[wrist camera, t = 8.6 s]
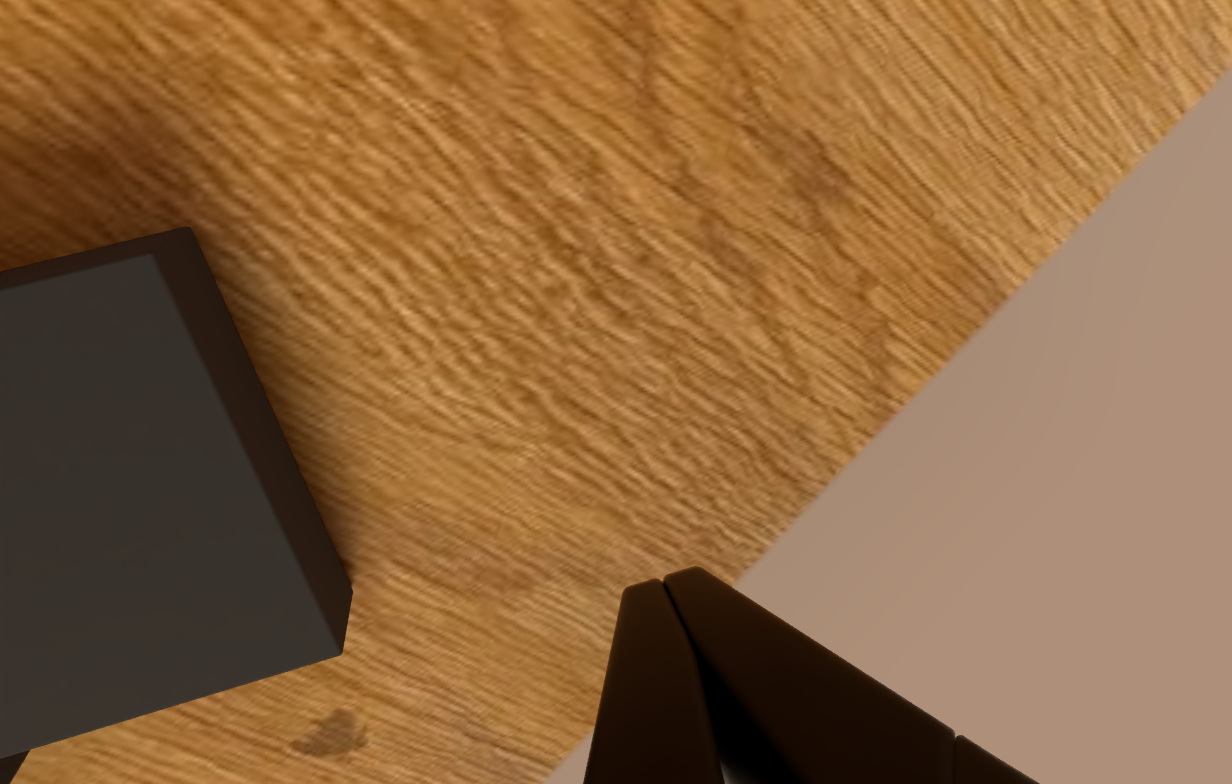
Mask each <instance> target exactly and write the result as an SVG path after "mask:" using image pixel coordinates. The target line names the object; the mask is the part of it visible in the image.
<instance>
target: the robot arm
mask: <svg viewBox="0 0 1232 784" xmlns="http://www.w3.org/2000/svg"><path fill="white" fill-rule="evenodd" d="M725 783H726V784H1039V783H1038V782H1036V781H1034V780H1033V779H1031V778H1029V777H1028V776H1026V775H1025V774H1023V773H1021V772H1020V771H1018V770H1016V769H1015V768H1013V767H1011V766H1010V765H1008V764H1007V763H1005V762H1003V761H1002V760H1000V759H998V758H997V757H995V756H994V755H992V754H990V753H989V752H988V751H986V750H984V749H982V748H981V747H980V746H978V745H977V744H975V743H973V742H972V741H970V740H969V739H967V738H966V737H964V736H962V735H959V736H957V737H956V738H955V733H954V731H953V730H952V729H951V728H950V727H948V726H946V725H945V724H943V723H942V722H940V721H939V720H937V719H936V718H934V717H932V716H931V715H929V714H928V713H926V712H924V711H923V710H922V709H920V708H919V707H917V706H915V705H914V704H912V703H911V702H909V701H908V700H906V699H905V698H903V697H901V696H900V695H898V694H897V693H895V692H894V691H892V690H891V689H889V688H887V687H886V686H884V685H883V684H881V683H879V682H878V681H877V680H875V679H874V678H872V677H870V676H869V675H867V674H866V673H864V672H863V671H861V670H860V669H858V668H856V667H855V666H853V665H852V664H850V663H849V662H847V661H846V660H844V659H842V658H841V657H839V656H838V655H836V654H835V653H833V652H832V651H830V650H828V649H827V648H825V647H824V646H822V645H821V644H819V643H817V642H816V641H814V640H813V639H811V638H810V637H808V636H807V635H805V634H804V633H802V632H800V631H799V630H797V629H796V628H794V627H793V626H791V625H789V624H788V623H786V622H785V621H783V620H782V619H780V618H779V617H777V616H776V615H774V614H772V613H771V612H769V611H768V610H766V609H765V608H763V607H761V606H760V605H758V604H757V603H755V602H754V601H752V600H751V599H749V598H748V597H746V596H744V595H743V594H741V593H740V592H738V591H737V590H735V589H734V588H732V587H731V586H729V585H727V584H726V583H724V582H723V581H721V580H720V579H718V578H717V577H715V576H713V575H712V574H710V573H709V572H707V571H706V570H704V569H703V568H701V567H697V566H694V567H690V568H687V569H683V570H680V571H677V572H674V573H670V574H667V575H666V576H665V577H664V578H663V582H662V581H661V580H659V579H656V578H655V579H651V580H648V581H644V582H641V583H638V584H634V585H631V586H628V587H626V588H625V589H624V591H623V594H622V598H621V603H620V608H619V613H618V617H617V622H616V627H615V632H614V637H613V642H612V646H611V651H610V656H609V661H608V666H607V671H606V675H605V680H604V685H603V690H602V695H601V700H600V704H599V709H598V714H597V719H596V724H595V729H594V733H593V738H592V743H591V749H590V753H589V758H588V762H587V767H586V772H585V777H584V782H583V784H725Z"/></svg>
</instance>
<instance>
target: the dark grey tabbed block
mask: <svg viewBox="0 0 1232 784" xmlns="http://www.w3.org/2000/svg"><path fill="white" fill-rule="evenodd" d="M352 595H353V590H352V588H351V585H350V583H349V581H348V579H347V576H346V574H345V572H344V570H343V567H342V565H341V563H340V561H339V558H338V556H337V554H336V552H335V549H334V547H333V545H332V543H331V540H330V538H329V536H328V534H327V532H326V529H325V527H324V525H323V523H322V520H321V518H320V516H319V514H318V511H317V509H316V507H315V505H314V502H313V500H312V498H311V496H310V493H309V491H308V489H307V487H306V484H305V482H304V480H303V478H302V475H301V473H300V471H299V469H298V466H297V464H296V462H295V460H294V458H293V455H292V453H291V451H290V449H289V446H288V444H287V442H286V440H285V437H284V435H283V433H282V431H281V428H280V426H279V424H278V422H277V419H276V417H275V415H274V413H273V410H272V408H271V406H270V404H269V401H268V399H267V397H266V395H265V393H264V390H263V388H262V386H261V384H260V381H259V379H258V377H257V375H256V372H255V370H254V368H253V366H252V363H251V361H250V359H249V357H248V354H247V352H246V350H245V348H244V345H243V343H242V341H241V339H240V336H239V334H238V332H237V330H236V328H235V325H234V323H233V321H232V319H231V316H230V314H229V312H228V310H227V307H226V305H225V303H224V301H223V298H222V296H221V294H220V292H219V289H218V287H217V285H216V283H215V280H214V278H213V276H212V274H211V271H210V269H209V267H208V265H207V262H206V260H205V258H204V256H203V254H202V251H201V249H200V247H199V245H198V242H197V240H196V238H195V236H194V233H193V231H192V229H191V228H190V227H182V228H178V229H174V230H170V231H166V232H162V233H158V234H154V235H149V236H145V237H141V238H137V239H133V240H129V241H125V242H121V243H117V244H113V245H109V246H105V247H100V248H96V249H92V250H88V251H84V252H80V253H76V254H72V255H68V256H64V257H60V258H56V259H52V260H47V261H43V262H39V263H35V264H31V265H27V266H23V267H19V268H15V269H11V270H7V271H3V272H0V759H1V758H4V757H7V756H11V755H14V754H17V753H21V752H24V751H27V750H30V749H34V748H37V747H40V746H44V745H47V744H50V743H54V742H57V741H60V740H63V739H67V738H70V737H73V736H77V735H80V734H83V733H86V732H90V731H93V730H96V729H100V728H103V727H106V726H109V725H113V724H116V723H119V722H123V721H126V720H129V719H133V718H136V717H139V716H142V715H146V714H149V713H152V712H156V711H159V710H162V709H165V708H169V707H172V706H175V705H179V704H182V703H185V702H188V701H192V700H195V699H198V698H202V697H205V696H208V695H211V694H215V693H218V692H221V691H225V690H228V689H231V688H235V687H238V686H241V685H244V684H248V683H251V682H254V681H258V680H261V679H264V678H267V677H271V676H274V675H277V674H281V673H284V672H287V671H290V670H294V669H297V668H300V667H304V666H307V665H310V664H313V663H317V662H320V661H323V660H327V659H330V658H333V657H337V656H340V655H341V654H342V652H343V647H344V641H345V635H346V629H347V624H348V618H349V612H350V606H351V601H352Z"/></svg>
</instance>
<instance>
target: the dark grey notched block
mask: <svg viewBox="0 0 1232 784" xmlns="http://www.w3.org/2000/svg"><path fill="white" fill-rule="evenodd" d="M30 750H31V749H30ZM30 750H27V751H24V752H21V753H17V754H14V755H11V756H7V757H4V758H1V759H0V784H10V783H11V781H12V779H13V778H14V776H15V774H16V773H17V771H18V769H19V768H20V766H21V765H22V763H23V761H24V760H25V758H26V756H27V755H28V753H29V751H30Z"/></svg>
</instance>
